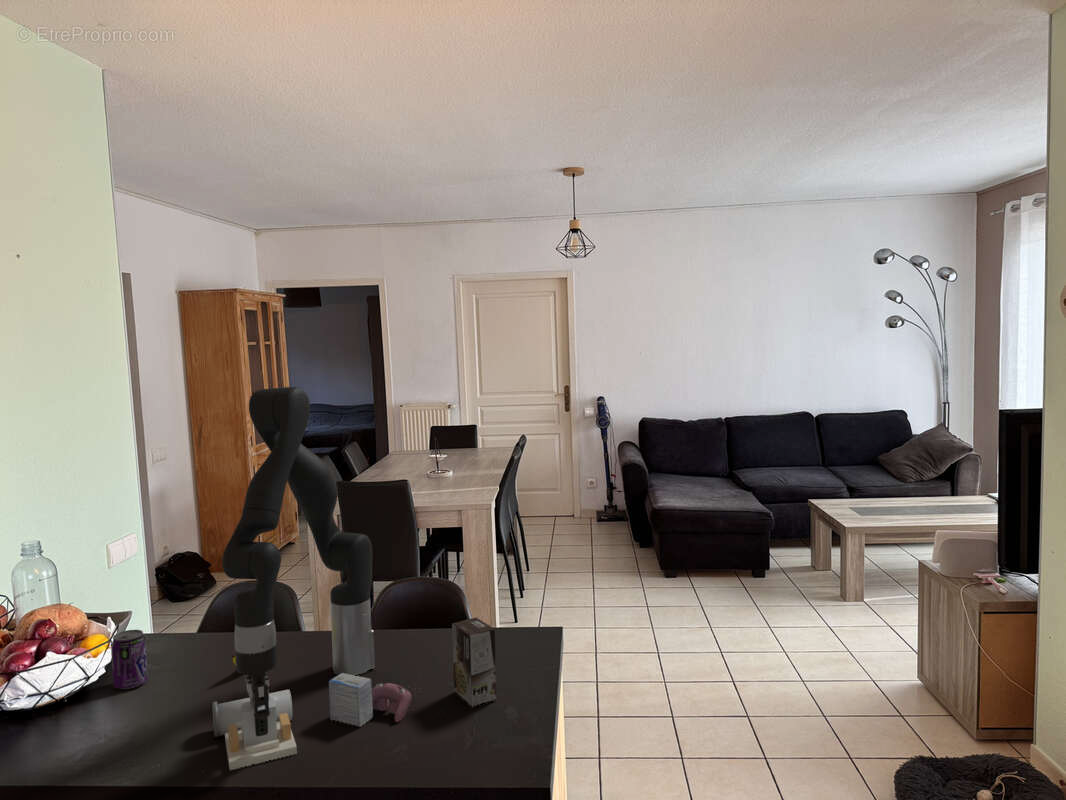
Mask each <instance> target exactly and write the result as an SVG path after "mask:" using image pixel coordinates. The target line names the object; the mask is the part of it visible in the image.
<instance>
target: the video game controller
mask: <svg viewBox="0 0 1066 800" xmlns="http://www.w3.org/2000/svg"><path fill="white" fill-rule="evenodd" d="M389 699H391V700H394V701H392V702H391V703H390V701H389ZM412 699H413V698H412V694H411V692H410V691H409V690H407V689H406V688H405V687H403V686H401V685H400V684H399V685H398V684H396V683H390V682H386V683H383V682H382V683H379V684H377V683H376V685H375V686H374V687H372V706H373V708H374V707H375V706H376V705H377V708H378V710H379V711H382V712H385V710H386V711H388V710H389V712H390V713H391V714H394V721H395V723H397V722H398V723H400V722H401V721H402V720H403V719H404V718H405V716H406V713H407V711H408V708H409V706H410V704H411V702H412ZM399 721H400V722H399Z"/></svg>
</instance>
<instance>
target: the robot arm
mask: <svg viewBox="0 0 1066 800" xmlns="http://www.w3.org/2000/svg"><path fill="white" fill-rule="evenodd" d="M248 412H249V416H250V419H251V422H252V425H253V426H254V428H255V430H256V431H257V433H258V435H260V438H261V439H262V441H263V442H264V443H265V445H266V447H267V448H268V449H269V451H270V453H269V454H268V456H267V457H266V459H265V460H264V461H263V463H262V464H261V465H260V467H258V469H257V470H256V472H255V474H253V477H252V478H251V480H250V482H249V484H248V487H247V490H246V494H245V498H244V503H243V509H242V512H241V517H240V519H239V521H238V523H237V526H236V527H235V530H234V531H233V533H232V536H231V537H230V539H229V540H228V542H227V545H226V546H225V549H224V551H223V553H222V559H221V560H222V561H221V564H222V565H221V566H222V570H223V572H224V574H225V575H226V576H227V577H228V578H230V579H234V580H256V584H255V587H252V588H247V589H243V590H241V591H239V592H238V593H237V594H236V595H235V597H234V600H233V601H234V603H233V604H234V606H233V608H234V623H235V624H234V637H233V638H234V655H235V660H236V666H235V670H236V671H237V673H239V674H241V675H244V676H245V683H246V691H247V693H248V696H249V697H248V698H250V705H251V706H253V708H254V714H253V716H254V718H255V733H256V736H263V735H266V734H267V733H268V719H267V717H268V716H269V714H270V711H269V699H270V698H269V693H270V691H269V689H270V687H269V686H270V677H269V676H268V672H269V671H271V670H273V669H274V668H275V667H276V666H277V664H278V653H277V651H278V649H277V648H278V647H277V631H276V630H277V629H276V624H275V617H274V616H275V615H274V614H275V613H274V596H275V595H274V594H275V590H276V585H277V579H278V576H279V573H280V569H281V566H282V565H281V564H282V554H281V552H280V550H279V548H278V546H277V545H276V544H275V543H273V542H268V541H266V542H265V541H255V540H256V538H257V537H258V536H260V535H262V534H265V533H269V532H272V531H274V530H276V529H277V527H278V525H279V522H280V516H281V512H282V508H283V507H282V506H283V502H284V496H285V491H286V487H287V484H288V486H289V488H290V491H291V493H292V495H293V497H294V499H295V500H296V502H297V504H298V506H299V507H300V510H301V512H302V514H303V516H304V519H305V521H306V523H307V525H308V527H309V529H310V531H311V535H312V537H313V539H314V543H315V546H316V548H317V551H318V555H319V557H320V559H321V561H322V563H323V565H324V566H325V568H327V569H328V570H330V571H335V572H340V573H341V572H342V573H347V577H346V581H345V582H342V583H339V584H336V585H335V586H334V587H332V588H331V589H330V615H331V616H330V617H331V620H330V621H331V644H332V645H331V646H332V650H331V651H332V671H334V672H333V674H335V675H337V674H338V675H339V674H341V673H345V674H350V675H357V676H359V675H358V674H361V675H363V674H362V673H364V674H366V673H368V672H369V671H368V670H370V669H373V670H375V669H374V668H375V666H376V665H375V664H376V663H375V643H374V642H375V639H374V635H375V633H374V630H373V629H372V628H373V627H372V619H371V618H372V617H371V615H372V614H371V588H372V585H373V584H372V583H373V545H372V541H371V539H370V538H369V536H368V535H366V534H364V533H355V532H354V533H353V532H344V531H342V530H341V529H340V528H339V527H338V526H337V523H336V521H335V518H334V512H335V508H336V504H337V502H338V498H339V497H338V495H339V490H338V486H337V484H336V481H335V480H334V479H335V478H334V477H333V475H332V473H331V470H330V468H329V467H328V465H327V464H326V463H325V462H324V461H323V460H322V459H321V457H320V456H317V454H315V453H314V452H313V451H311V449H309V448H308V447H306V446H305V445H303V444H302V440H303V438H304V435H305V433H306V429H307V426H308V423H309V420H310V414H311V402H310V399H309V396H308V394H307V392H306V391H305V390H304V389H303V388H301V387H297V386H285V387H272V388H271V387H270V388H263V389H258V390H255V392H253V393H252V394H251V395H250V398H249V401H248ZM367 671H368V672H367ZM370 671H371V670H370ZM365 672H366V673H365ZM338 675H337V676H338ZM261 705H264V707H265V709H264V710H259V711H258V706H261Z"/></svg>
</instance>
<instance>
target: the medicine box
mask: <svg viewBox="0 0 1066 800" xmlns="http://www.w3.org/2000/svg"><path fill="white" fill-rule="evenodd" d="M372 689H373V687H372V679H371V678H369V677H363V676H361V675H357V676H355V675H350V674H345V673H341V674H339V675H336V676H335V677H333V678H331V679H329V681H328V693H329V713H330V715H329V716H330V721H333V720H335V721H334V722H337V721H339V723H342V722H343V724H346V723H347V724H346V725H350V724H351V726H354V725H355V727H359V728H361V727H363V726H364V725H365V724H366V722H367V723H368V722H369V721H370V720H372V719H373V717H374V711H373V708H374V707H373V706H372ZM362 725H363V726H362Z"/></svg>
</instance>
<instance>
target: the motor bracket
mask: <svg viewBox="0 0 1066 800" xmlns="http://www.w3.org/2000/svg"><path fill="white" fill-rule="evenodd" d="M269 697H274V701H275V705H276V721H277V740H273V741H269V742H264V743H260V744H256V745H252V746H247V747H245V749H244V743H243V735H242V713H241V703H245V702H250V697H245V698H241V699H236V700H232V701H228V702H226V701H225V702H222V703H218V701H213V702H212V721H213V732H214V734H213V735H214V738H215V737H216V738H217V737H221V736H224V741H225V749H226V755H227V763H228V768H229V769H230V770H229V771H233V770H237V769H242V768H245V766H246V767H251V766H253V765H252V764H254V765H257V764H258V765H259V764H262V763H266V761H267V762H270V761H269V760H271V761H273V760H274V759H275V760H278V758H279V759H282V757H283V758H286V756H287V757H291V756H295V755H297V754H298V748H297V743H296V740H295V737H294V735H293V731H292V728H291V727H292V724H291V722H290V721H291V720H293V701H292V695H291V691H290V689H285V690H280V691H275V692H269ZM294 754H295V755H294ZM290 755H291V756H290ZM275 760H274V761H275ZM241 767H242V768H241Z"/></svg>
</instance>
